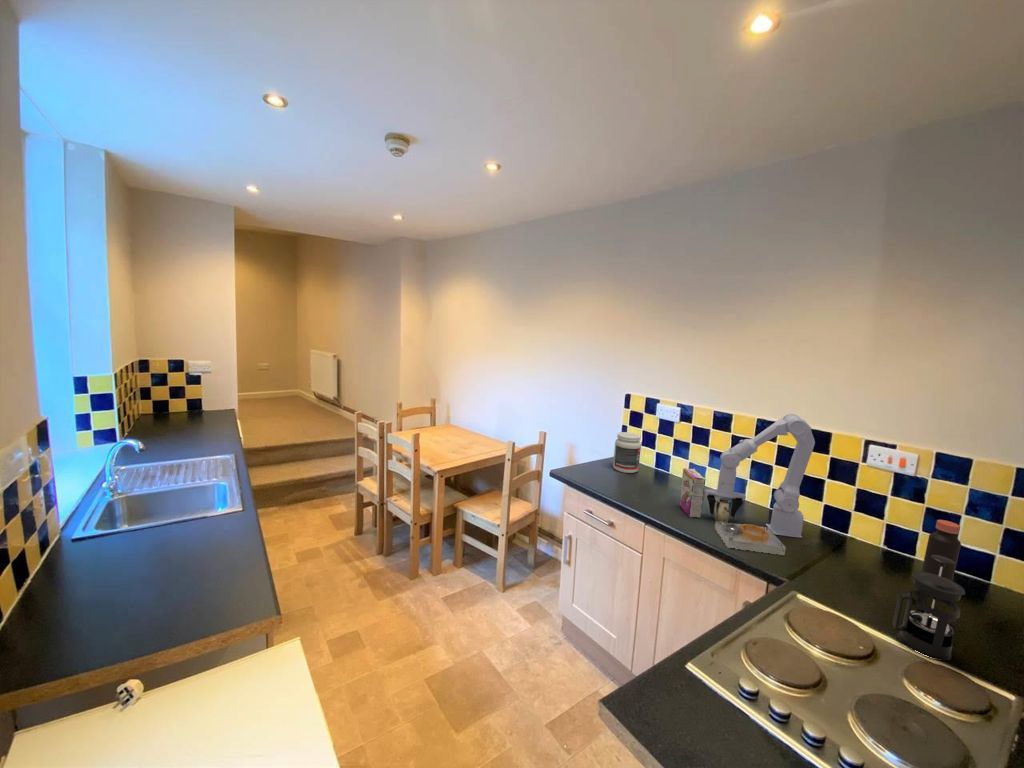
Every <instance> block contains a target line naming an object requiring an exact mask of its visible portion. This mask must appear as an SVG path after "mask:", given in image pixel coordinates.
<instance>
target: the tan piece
mask: <svg viewBox="0 0 1024 768" xmlns="http://www.w3.org/2000/svg"><path fill="white" fill-rule="evenodd" d="M731 507H732V501H730V500H729V498H725V497H719V498H717V499H716V503H715V508H714V517H713V519H714V518H715V519H714V520H715V521H718V522H719V521H721V522H727V523H729V521H730V514H731Z"/></svg>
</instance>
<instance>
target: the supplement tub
mask: <svg viewBox="0 0 1024 768" xmlns="http://www.w3.org/2000/svg"><path fill="white" fill-rule="evenodd" d="M616 437H617V439H615V442H614V451H613V461H612V462H613V463H612V466H613V469H615V470H616V471H618V472H620V473H623V474H624V473H627V474H634V473H636V472H638V471H639V467H640V461H641V460H640V458H641V450H642V449H641V448H642V443H641V435H639V434H638V433H634V432H628V431H621V432H618V433H617V436H616Z"/></svg>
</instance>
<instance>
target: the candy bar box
mask: <svg viewBox="0 0 1024 768" xmlns="http://www.w3.org/2000/svg"><path fill="white" fill-rule="evenodd" d="M682 470H683V471H682V478H681V487H680V488H681V489H680V496H679V504H678V506H679V507H680V508H681V509H682V510H683V512H684V513H685V514H686V515H687V516H688V517H689V518H692V517H697V518H698V519H701V518H702V512H703V511H702V510H703V503H704V502H703V501H704V496H705V494H704V491H705V485H706V478H705V477H704V476H703V475H702V474H700V473H699V472H698V471H697V470H696V469H695V468H682Z"/></svg>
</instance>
